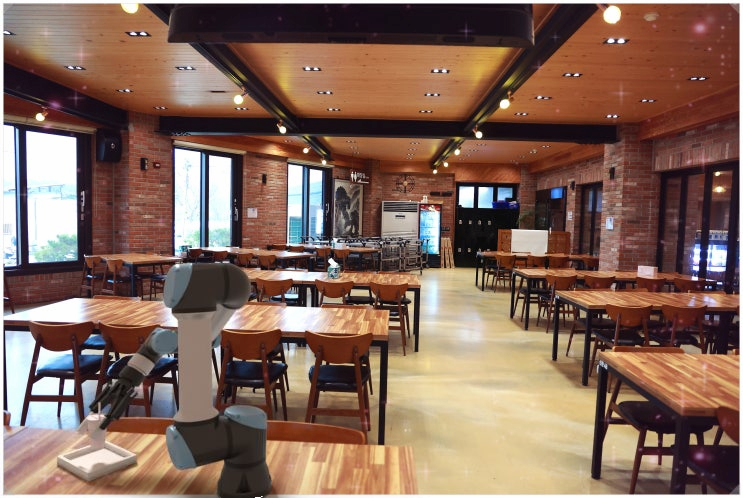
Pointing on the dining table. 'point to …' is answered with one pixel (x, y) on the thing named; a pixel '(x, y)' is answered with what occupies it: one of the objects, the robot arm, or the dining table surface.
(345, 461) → the dining table surface
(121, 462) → the tray
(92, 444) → the smoothie
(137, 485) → the dining table surface
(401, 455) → the dining table surface
